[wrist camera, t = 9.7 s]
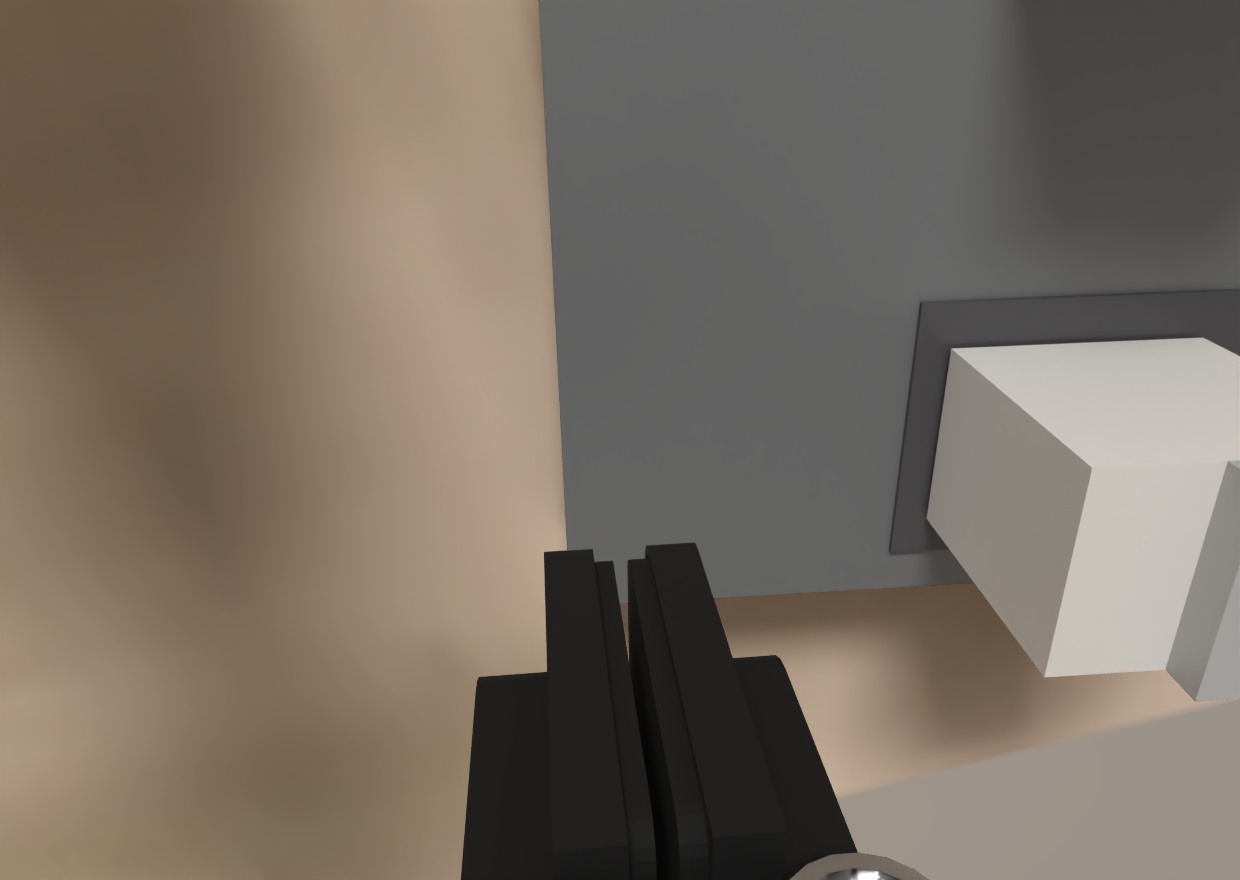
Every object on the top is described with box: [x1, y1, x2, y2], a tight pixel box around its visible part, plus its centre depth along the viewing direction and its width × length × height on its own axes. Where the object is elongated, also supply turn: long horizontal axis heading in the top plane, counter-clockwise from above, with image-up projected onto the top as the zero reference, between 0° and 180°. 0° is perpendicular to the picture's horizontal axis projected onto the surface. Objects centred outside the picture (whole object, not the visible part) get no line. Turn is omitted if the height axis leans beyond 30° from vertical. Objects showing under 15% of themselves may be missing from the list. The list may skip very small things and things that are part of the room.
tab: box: [927, 338, 1240, 702], centre depth 13 cm, size 4×3×5 cm
